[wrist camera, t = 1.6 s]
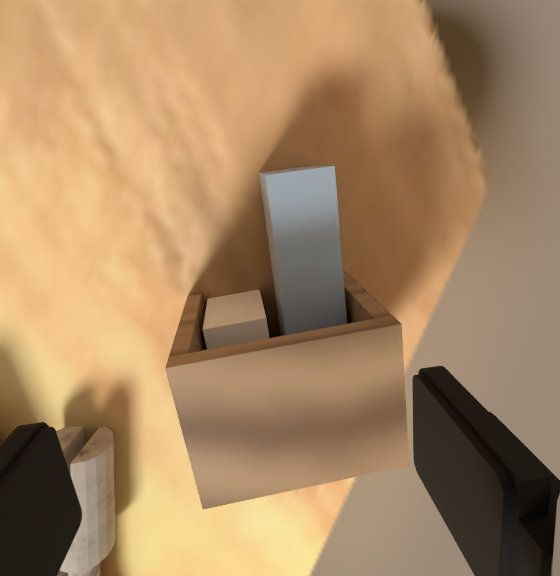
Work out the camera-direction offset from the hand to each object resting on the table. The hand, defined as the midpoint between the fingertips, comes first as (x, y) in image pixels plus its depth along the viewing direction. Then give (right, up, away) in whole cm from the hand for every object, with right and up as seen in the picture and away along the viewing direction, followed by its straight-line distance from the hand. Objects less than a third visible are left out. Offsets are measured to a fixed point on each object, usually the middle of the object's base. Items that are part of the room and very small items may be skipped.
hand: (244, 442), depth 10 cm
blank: (+2, +6, +20) cm, 21 cm away
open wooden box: (+1, 0, +22) cm, 22 cm away
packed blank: (-2, 0, +21) cm, 21 cm away
